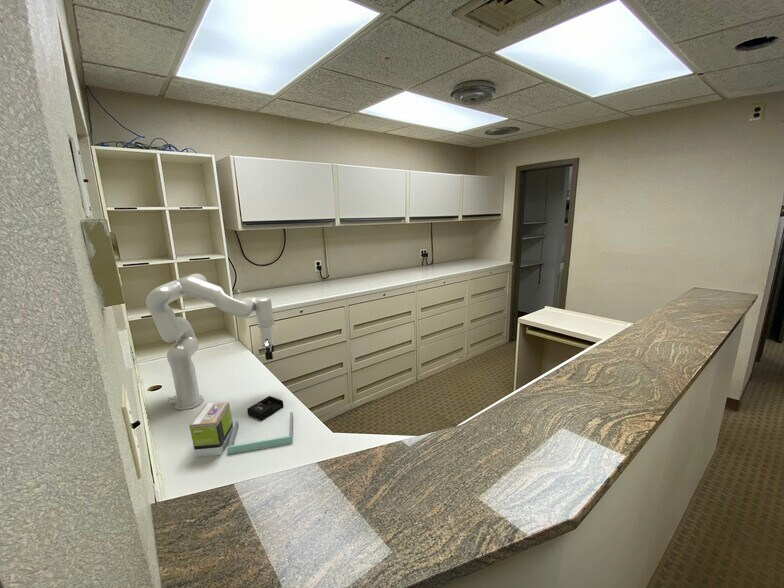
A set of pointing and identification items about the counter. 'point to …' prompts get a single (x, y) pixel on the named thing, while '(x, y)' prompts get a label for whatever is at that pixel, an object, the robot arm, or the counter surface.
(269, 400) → the battery charger
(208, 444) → the tea box
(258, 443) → the dock
